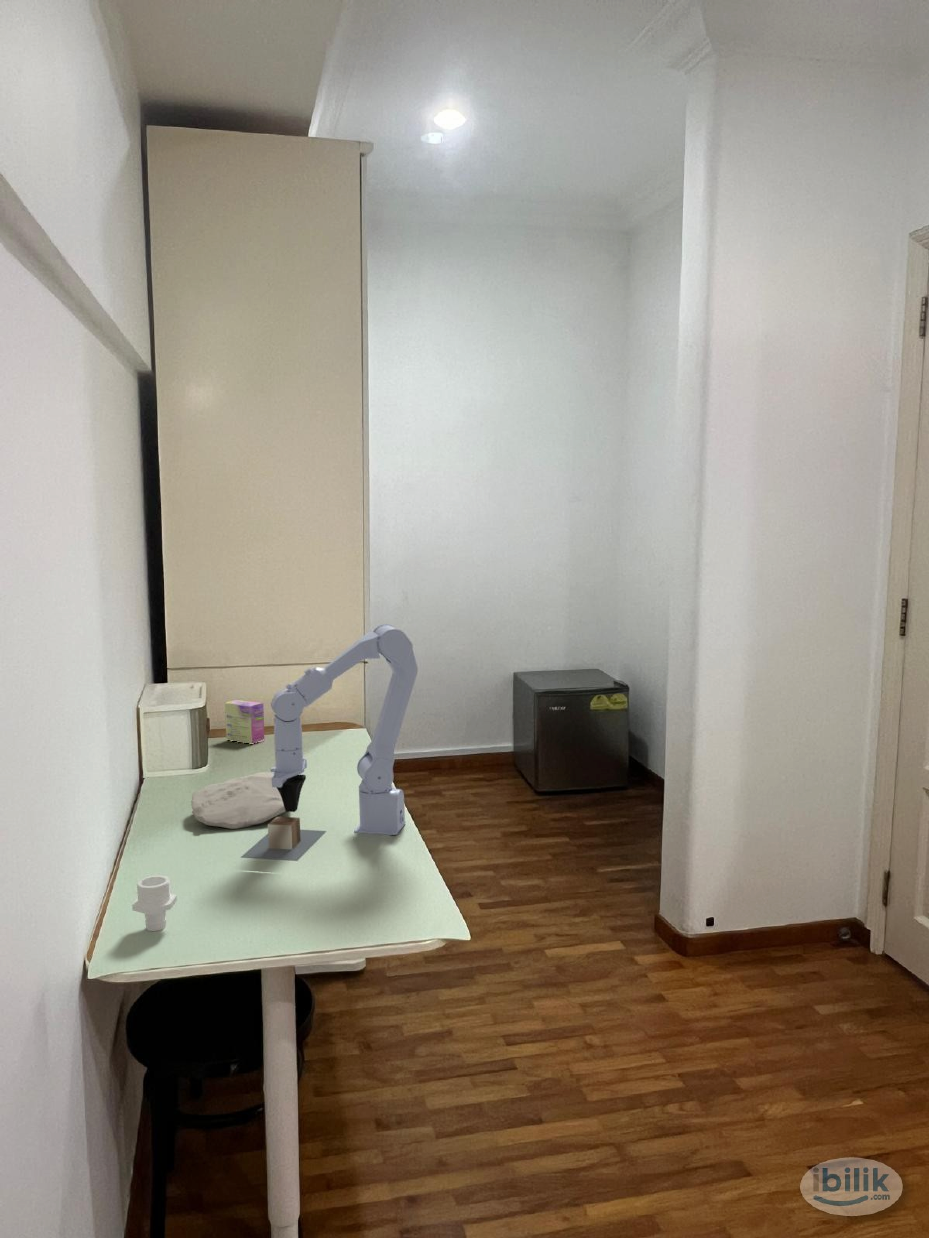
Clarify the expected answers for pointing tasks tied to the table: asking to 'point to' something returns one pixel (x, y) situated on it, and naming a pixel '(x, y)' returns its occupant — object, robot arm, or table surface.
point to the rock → (238, 802)
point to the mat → (264, 852)
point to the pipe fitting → (154, 901)
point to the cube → (284, 833)
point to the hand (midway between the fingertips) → (291, 810)
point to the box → (244, 721)
